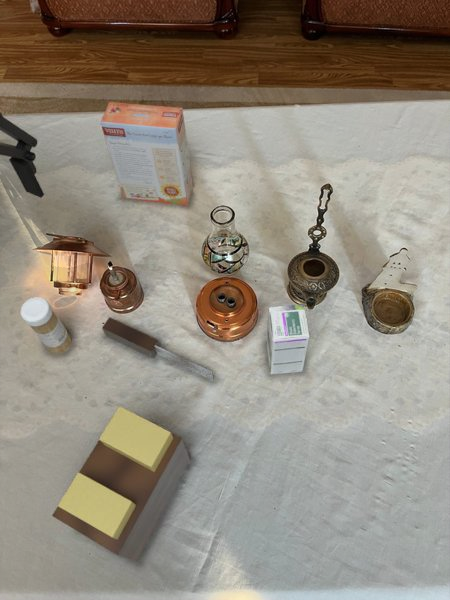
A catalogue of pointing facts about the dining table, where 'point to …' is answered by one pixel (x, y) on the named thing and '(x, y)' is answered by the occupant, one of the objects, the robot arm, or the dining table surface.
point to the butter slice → (97, 505)
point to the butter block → (136, 438)
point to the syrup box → (287, 338)
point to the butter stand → (131, 494)
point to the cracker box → (149, 152)
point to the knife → (147, 345)
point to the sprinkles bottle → (46, 324)
